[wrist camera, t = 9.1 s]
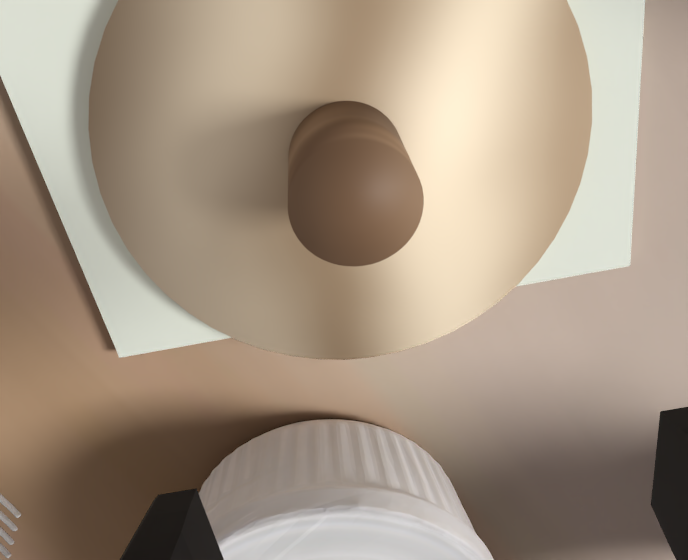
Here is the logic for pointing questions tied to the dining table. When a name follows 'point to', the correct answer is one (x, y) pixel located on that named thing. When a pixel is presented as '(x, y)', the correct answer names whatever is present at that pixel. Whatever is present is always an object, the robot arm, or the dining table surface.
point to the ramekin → (336, 498)
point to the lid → (339, 159)
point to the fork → (9, 523)
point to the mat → (136, 286)
